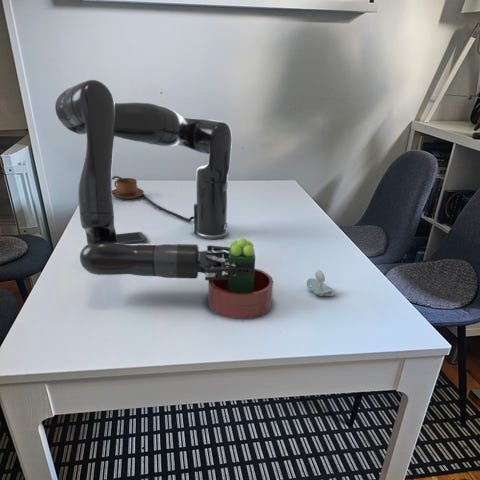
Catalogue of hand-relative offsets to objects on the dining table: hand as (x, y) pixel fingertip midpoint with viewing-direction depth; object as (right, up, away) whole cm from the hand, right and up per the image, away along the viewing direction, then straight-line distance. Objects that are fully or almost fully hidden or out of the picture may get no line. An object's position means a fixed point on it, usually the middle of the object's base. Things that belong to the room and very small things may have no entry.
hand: (252, 263), depth 101 cm
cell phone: (-38, +12, +35) cm, 53 cm away
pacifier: (+17, -6, +11) cm, 22 cm away
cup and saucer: (-46, +35, +74) cm, 94 cm away
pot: (-3, -9, +5) cm, 10 cm away
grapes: (-3, -5, +3) cm, 6 cm away
